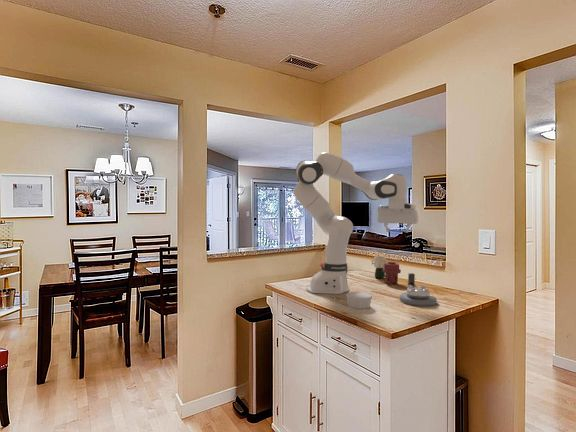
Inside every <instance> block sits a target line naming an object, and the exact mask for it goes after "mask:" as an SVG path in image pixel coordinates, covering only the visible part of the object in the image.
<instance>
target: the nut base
mask: <svg viewBox="0 0 576 432" xmlns="http://www.w3.org/2000/svg"><path fill="white" fill-rule="evenodd" d="M437 300H438V299H437V297H435V296H433V295H432V294H430V298H428V299H415V298H411V297H408V296H407V292H404V293H401V294H399V302H401V303H403V304H405V305H409V306H414V307H434V306H436V305H437Z"/></svg>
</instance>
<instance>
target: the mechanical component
mask: <svg viewBox="0 0 576 432" xmlns="http://www.w3.org/2000/svg"><path fill="white" fill-rule="evenodd" d="M401 271H402V269H400V264H399V263H396V262H395V261H389V262H388V263H387V262H386V263H384V268H383V272H384V273H385V277H384V281H386V283H387V284H388V285H396V284H398V281H399V274H401Z"/></svg>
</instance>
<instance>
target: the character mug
mask: <svg viewBox="0 0 576 432" xmlns="http://www.w3.org/2000/svg"><path fill="white" fill-rule="evenodd" d="M388 262H390V261H389V260H387V257H386V256H380V255H379V256H378V255H377V256H374V257H373V258H372V259H371V265H373V267H374V268H375V271H374V277H375V278H378V279H383V278H385V273H384V272H383V268H384V263H388Z"/></svg>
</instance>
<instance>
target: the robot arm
mask: <svg viewBox="0 0 576 432" xmlns="http://www.w3.org/2000/svg"><path fill="white" fill-rule="evenodd" d="M295 170H296V171H295V172H296V173H295V174H296V176H297V181H298V183H297V184H296V185H295V186H294V188H293V195H294V197H295V199H296V200H297V201H298V203H299V204H300V205H301V206H302V207H303V208H304V210H305V211H306V212H308V214H309V215H310V216H311V217H312V219H314V220H315V222H316V223H317V224H318V226H319V227H320V229H321V230H322V232H323V233H324V234H325V235H328V240H327V245H326V247H325V256H324V257H325V258H324V259H325V262H320V263H319V265H318V266H320V267H321V270H319V271H317V273H315V274H314V275H313V276H312V277H311V280H310V284H307V286H306V288H305V289H306V291H308V293H311V294H331V295H333V294H334V295H342V294H343V293H348V292H349V291H350V288H349V283H348V282H349V281H348V263H347V255H348V254H347V253H348V252H347V251H348V244H349V239H350V237H351V234H352V233H353V231H354V223H353V222H352V221H351V220H350V219H349V218H348V217H345V216H342V215H340V216H339V215H337V214H336V213H335V211H334V210H333V209H332V207H331V205H330V203H329V201H328V200H326V198H325V197H324V196H323V195H322V194H321V193H320V192H319V191H318V190H317V188H315V186H314V184H315V183H316V182H318V180H319V179H320V178H321V177H322V176H323V175H324V176H327V177H330V178H332V179H334V180H335V181H339V182H341V183H344V184H347V185H349V186H352V187H354V188H355V189H357V190H359V191H361V192H362V193H363V194H364V196H365V197H367V198H368V199H369V200H371V201H378V200H385V199H388V205H380V206H378V208H377V223H378V224H383V225H384V228H385V232H387V233H389V232H391V228H389V226H388V225H389V224H404V225H406V226H407V227H406V228H404V233H407V234H408V233H409V230H410V228H411V225H415V224H418V222H419V215H418V210H416V208H417V205H415V204H413V203H410V202H407V197H406V194H407V179H406V176H404V175H403V174H400V173H391V174H390V175H388V176H387V177H385V178H382V179H380V180H376V181H369V180H367V179H365V178H363V177H362V176H360V175H358V174H357V173H356V172H355V167H354V165H353V164H352V163H351V162H349V161H348V160H347V159H345V158H343V157H341V156H338V155H336V154H333V153H330V152H325V151H324V152H321V153H320V154H319V155H318V156H317V158H316V160H314V161H312V160H309V159H305V160H302V161H300V162H299V163H298V164H297V166H296V168H295Z"/></svg>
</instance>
